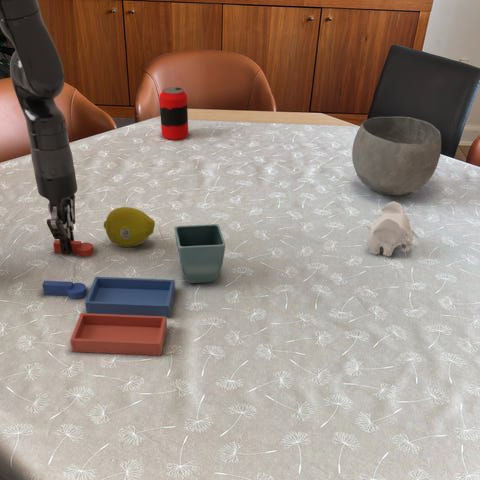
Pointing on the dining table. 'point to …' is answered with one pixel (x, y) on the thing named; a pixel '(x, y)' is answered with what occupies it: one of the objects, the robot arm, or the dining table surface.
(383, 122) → the bowl
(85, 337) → the red tray
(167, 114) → the soda can
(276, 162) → the dining table surface
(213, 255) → the flower pot
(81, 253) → the red spoon
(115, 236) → the lemon
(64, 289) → the blue spoon
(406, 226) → the elephant figurine
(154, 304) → the blue tray
